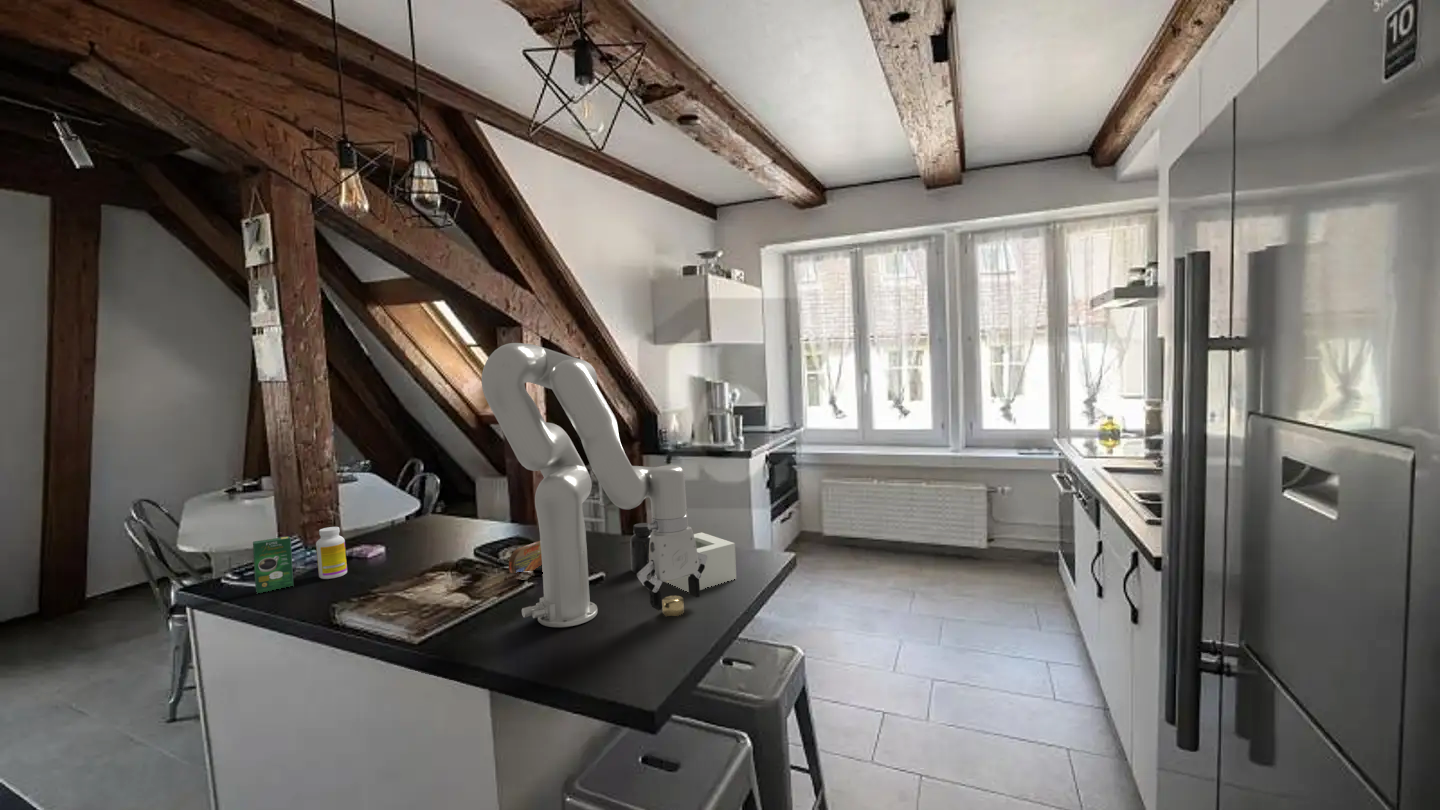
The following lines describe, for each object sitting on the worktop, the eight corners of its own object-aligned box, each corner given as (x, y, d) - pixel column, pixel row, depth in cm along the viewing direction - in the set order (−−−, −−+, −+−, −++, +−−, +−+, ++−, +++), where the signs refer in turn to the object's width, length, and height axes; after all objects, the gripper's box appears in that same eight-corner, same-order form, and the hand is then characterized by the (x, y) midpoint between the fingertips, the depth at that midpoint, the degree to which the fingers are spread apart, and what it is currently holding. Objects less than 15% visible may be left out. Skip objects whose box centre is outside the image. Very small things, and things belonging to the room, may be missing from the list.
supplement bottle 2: (656, 574, 165) (653, 528, 164) (629, 575, 165) (627, 528, 164) (659, 565, 172) (657, 521, 171) (633, 566, 172) (631, 522, 171)
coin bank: (689, 593, 150) (687, 555, 150) (657, 578, 161) (655, 543, 161) (736, 579, 159) (734, 543, 158) (703, 566, 170) (701, 532, 169)
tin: (515, 585, 161) (513, 552, 160) (507, 583, 162) (505, 550, 162) (560, 567, 173) (558, 536, 173) (552, 566, 175) (550, 535, 175)
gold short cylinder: (670, 619, 136) (669, 605, 136) (658, 613, 140) (657, 599, 139) (688, 613, 139) (687, 599, 139) (676, 607, 142) (675, 594, 142)
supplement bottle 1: (352, 573, 175) (348, 527, 174) (326, 581, 170) (322, 533, 169) (339, 570, 179) (335, 524, 178) (314, 577, 173) (309, 530, 172)
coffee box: (293, 584, 169) (289, 534, 168) (295, 586, 166) (290, 536, 165) (255, 592, 164) (251, 541, 163) (256, 595, 161) (252, 543, 160)
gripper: (644, 535, 130) (650, 618, 131) (713, 518, 140) (718, 595, 141) (625, 529, 136) (632, 608, 137) (693, 513, 146) (698, 587, 147)
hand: (675, 602), depth 139 cm, fingers open, 9 cm apart
